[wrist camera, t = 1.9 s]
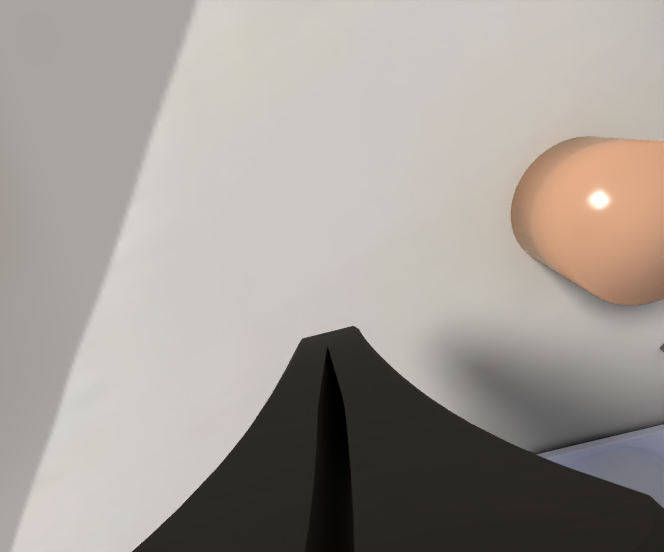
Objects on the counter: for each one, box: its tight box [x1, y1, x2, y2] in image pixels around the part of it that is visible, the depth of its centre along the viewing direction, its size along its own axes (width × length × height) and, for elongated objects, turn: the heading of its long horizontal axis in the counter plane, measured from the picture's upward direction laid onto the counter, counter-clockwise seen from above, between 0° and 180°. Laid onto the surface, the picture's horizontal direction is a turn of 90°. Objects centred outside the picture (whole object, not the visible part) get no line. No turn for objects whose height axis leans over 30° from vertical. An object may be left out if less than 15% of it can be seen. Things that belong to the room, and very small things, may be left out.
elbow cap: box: [511, 137, 664, 305], centre depth 14 cm, size 5×5×4 cm
